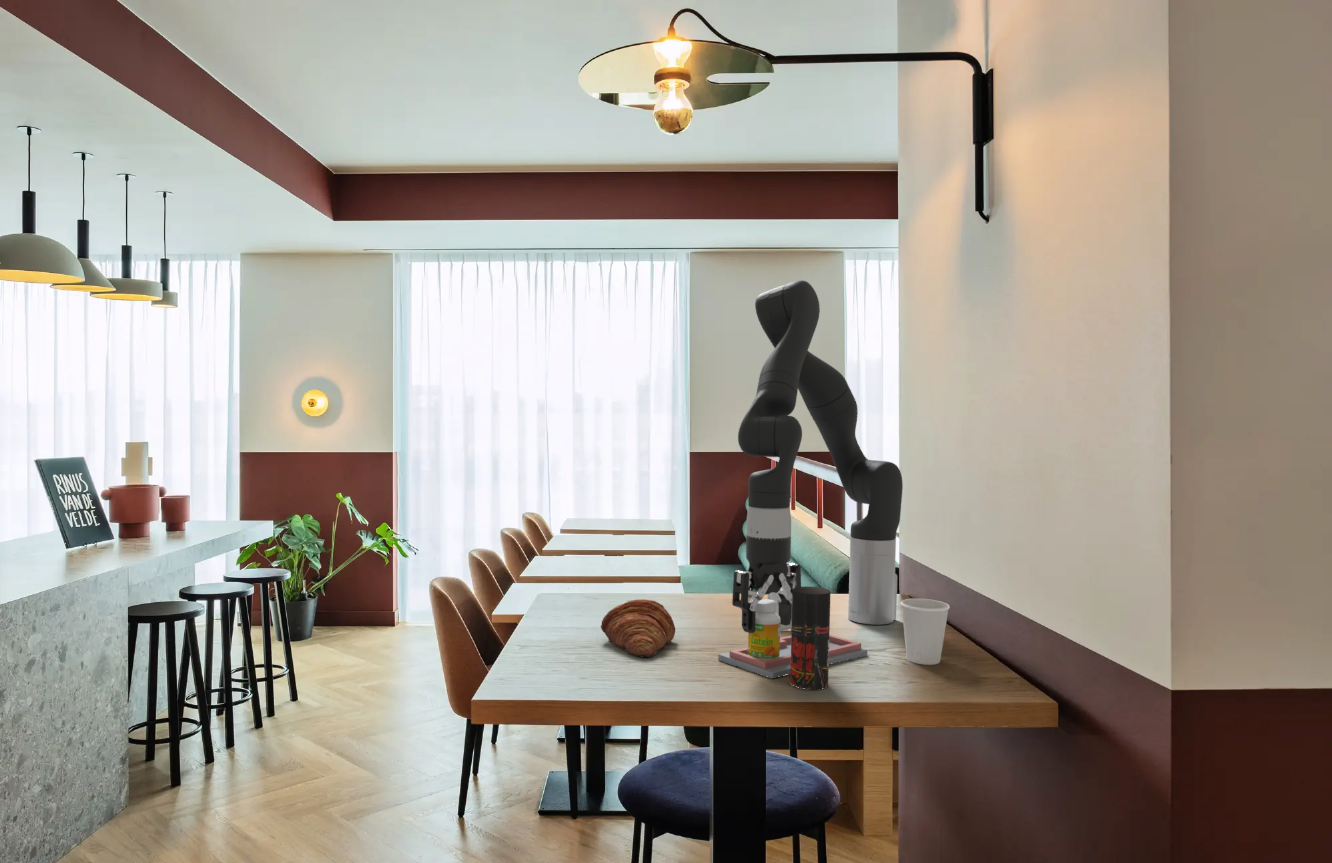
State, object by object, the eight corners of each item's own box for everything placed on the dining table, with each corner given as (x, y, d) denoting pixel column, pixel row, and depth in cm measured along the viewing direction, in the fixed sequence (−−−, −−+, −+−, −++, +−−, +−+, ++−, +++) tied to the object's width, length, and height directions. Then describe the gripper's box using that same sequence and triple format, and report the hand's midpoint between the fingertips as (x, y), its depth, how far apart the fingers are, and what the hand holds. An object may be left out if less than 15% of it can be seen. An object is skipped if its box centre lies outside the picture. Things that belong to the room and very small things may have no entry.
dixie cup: (947, 669, 151) (948, 610, 150) (896, 663, 153) (898, 605, 153) (949, 656, 158) (951, 600, 158) (901, 651, 161) (902, 596, 161)
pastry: (701, 644, 164) (702, 601, 163) (644, 661, 152) (645, 615, 152) (636, 627, 175) (636, 587, 175) (578, 642, 164) (579, 599, 163)
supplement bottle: (746, 661, 149) (747, 603, 148) (749, 652, 154) (750, 597, 154) (778, 663, 148) (779, 605, 147) (780, 655, 153) (782, 599, 153)
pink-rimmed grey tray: (812, 639, 168) (812, 628, 168) (867, 655, 158) (867, 644, 158) (718, 660, 153) (718, 648, 153) (772, 679, 143) (773, 666, 143)
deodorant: (786, 678, 143) (788, 586, 143) (822, 678, 144) (824, 586, 143) (794, 690, 138) (797, 594, 137) (832, 690, 138) (835, 594, 138)
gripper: (754, 539, 143) (752, 639, 143) (813, 532, 152) (812, 626, 152) (722, 534, 148) (721, 630, 149) (781, 527, 157) (779, 617, 158)
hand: (767, 628), depth 151 cm, fingers open, 8 cm apart
